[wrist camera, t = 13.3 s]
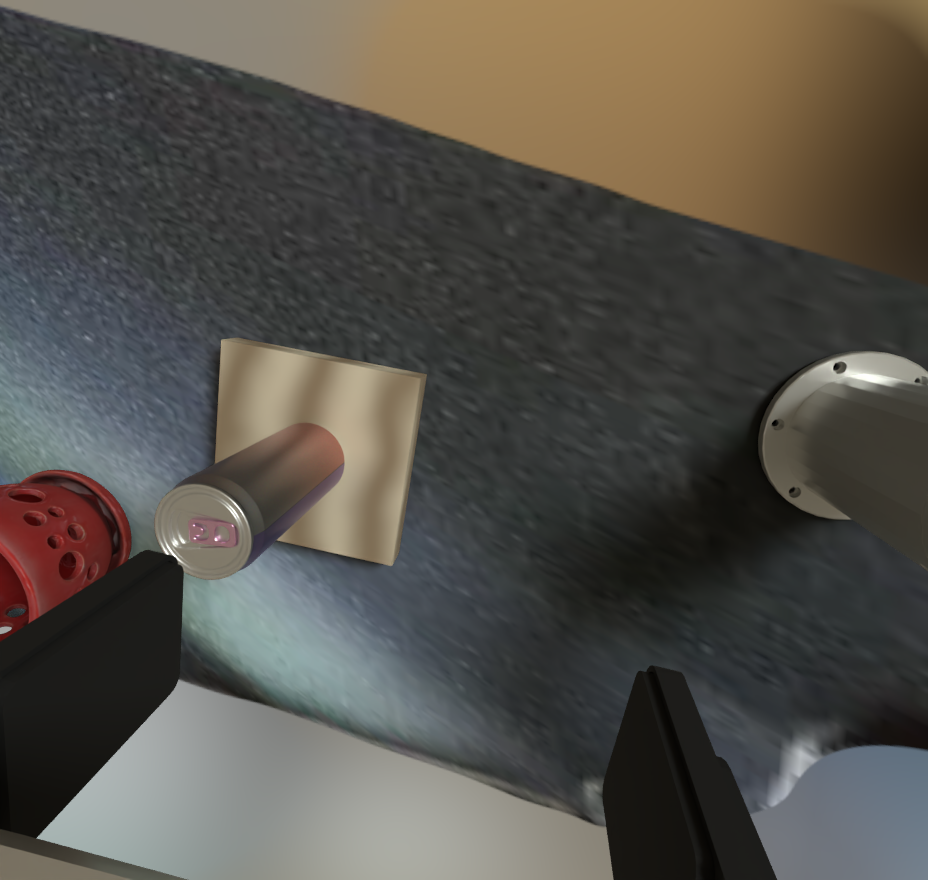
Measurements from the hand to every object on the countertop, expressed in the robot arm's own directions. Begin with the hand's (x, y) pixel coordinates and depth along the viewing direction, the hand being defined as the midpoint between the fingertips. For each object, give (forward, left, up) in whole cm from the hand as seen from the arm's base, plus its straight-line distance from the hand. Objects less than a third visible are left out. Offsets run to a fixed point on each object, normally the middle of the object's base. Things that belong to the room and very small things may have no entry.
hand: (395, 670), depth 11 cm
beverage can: (+14, +8, -31) cm, 35 cm away
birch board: (+14, +8, -33) cm, 37 cm away
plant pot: (+36, +20, -34) cm, 53 cm away
